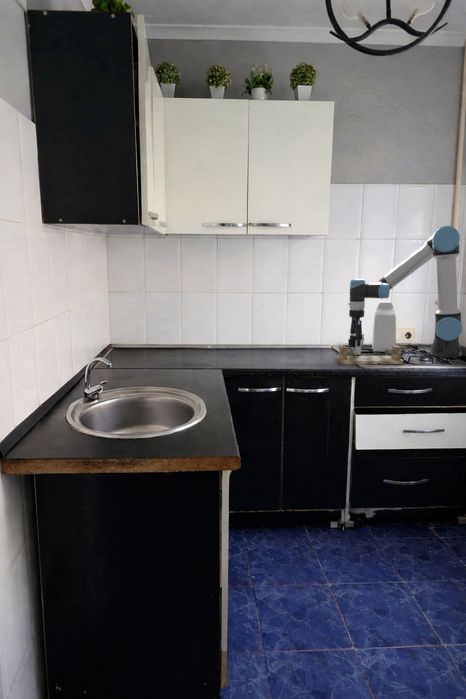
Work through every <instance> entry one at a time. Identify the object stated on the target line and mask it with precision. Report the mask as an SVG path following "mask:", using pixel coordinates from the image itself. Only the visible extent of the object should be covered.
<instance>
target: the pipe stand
mask: <svg viewBox="0 0 466 699" xmlns="http://www.w3.org/2000/svg"><path fill="white" fill-rule="evenodd" d="M338 347H339V348H338V355H336V360H337V362H338V363H339V364H340V365H379V364H378V363H381V364H380V365H404V360H403V359H402V358H401V355H402V346H400V345H399V344H398V345H397V344H396V345H392V348H388V347H385V352H384V354H385V355H359V356H357V355H354V347H351V348H348V347H347V345H339V346H338Z"/></svg>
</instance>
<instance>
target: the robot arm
mask: <svg viewBox="0 0 466 699" xmlns="http://www.w3.org/2000/svg"><path fill="white" fill-rule="evenodd" d="M460 240H461V235H460V233H459V231H458V229H456V228H455V227H454V226H452V225H443V226H440V227H438V228H437V229H436V230H435V231H434V232H433V234H432V236H430V237H429V238H428V239H427V240H426V241H425V242H424V245H423V246H421V247H420V248H419V249H418V250H416V251H415V252H413V253H412V254H411V255H410V256H409V257H407V258H406V259H404V260H403V261H402V262H401V263H399V264H398V265H397V266H395V267H394V268H393V269H391V271H389V272H388V273H386V274H385V275H384V276H382V277H381V278H380V279H379V280H378V281H376V282H375V283H373V282H371V283H369V282H368V283H367V282H366V279H364V278H353V279H351V280H350V284H349V285H350V286H349V302H348V306H349V313H348V316H349V318H351V323H350V331H349V332H350V335H351V334H354V333H356V338H355V340H356V344H355V353H360V354H361V353H362V346H361V340H362V334H363V329H362V328H363V327H362V323H363V322H362V320H361V319H362V318H364V317H365V310H364V309H365V305H366V304H365V303H366V302H365V300H366V299H389V298H390V294H391V290H392V289H394V288H395V287H396V286H397V285H399V284H400V283H401V282H403V281H404V280H406V279H407V278H408V277H409V276H411V275H412V274H413V273H414V272H416V271H417V270H418V269H420V268H421V267H422V266H424V265H425V264H426V263H428V262H430V260H432V259H433V258H435V260H436V280H437V282H436V283H437V308H438V309H437V310H436V311H435V312H434V317H435V324H434V325H435V326H434V337H433V338H434V340H433V342H432V344H431V346H430V349H429V354H430V355H431V356H434V357H437V358H438V357H440V358H449V359H450V358H460V357H462V354H463V353H462V348H461V343H460V335H461V334H462V332H463V324H462V311H461V310H460V309H459V308H458V281H457V280H458V276H457V274H458V273H457V257H459V255H460Z"/></svg>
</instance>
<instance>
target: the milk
mask: <svg viewBox="0 0 466 699" xmlns="http://www.w3.org/2000/svg"><path fill="white" fill-rule="evenodd" d="M375 309H376V310H375V312H374V318H373V327H372V328H373V329H372V330H373V331H372V341H371V342H372V344H371V345H372V346H371V349H373V350H372V352H384V353H385V347H388V348H392V345H397V316H396V312H395V308H394V306H393V303H392V302H391V301H380V302H379V303H378V305H377V308H375Z"/></svg>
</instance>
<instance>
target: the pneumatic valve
mask: <svg viewBox="0 0 466 699" xmlns="http://www.w3.org/2000/svg"><path fill="white" fill-rule="evenodd" d="M364 335H365V334H364V333H362V340H361V347H362V346H364V341H365V336H364ZM355 338H356V333H354V334H351V333H350V334H349V339H348V343H347V344H348V346H349V349H351V347H354V356H357V355H359V356H361V353H355V344H356V340H355Z"/></svg>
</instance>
